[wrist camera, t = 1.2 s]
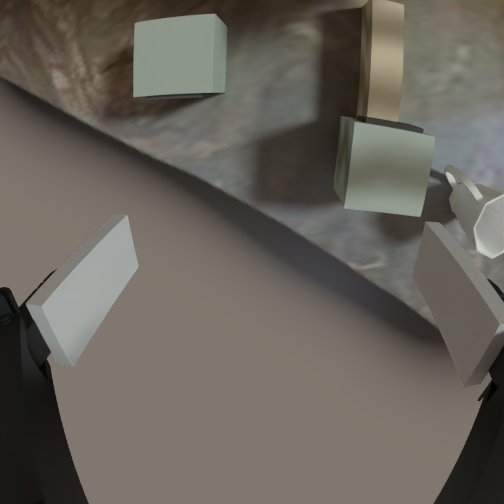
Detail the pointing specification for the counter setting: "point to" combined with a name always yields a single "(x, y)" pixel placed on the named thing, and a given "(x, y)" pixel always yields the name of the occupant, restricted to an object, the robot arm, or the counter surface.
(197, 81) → the block
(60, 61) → the counter surface
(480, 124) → the counter surface
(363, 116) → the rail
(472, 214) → the cup
